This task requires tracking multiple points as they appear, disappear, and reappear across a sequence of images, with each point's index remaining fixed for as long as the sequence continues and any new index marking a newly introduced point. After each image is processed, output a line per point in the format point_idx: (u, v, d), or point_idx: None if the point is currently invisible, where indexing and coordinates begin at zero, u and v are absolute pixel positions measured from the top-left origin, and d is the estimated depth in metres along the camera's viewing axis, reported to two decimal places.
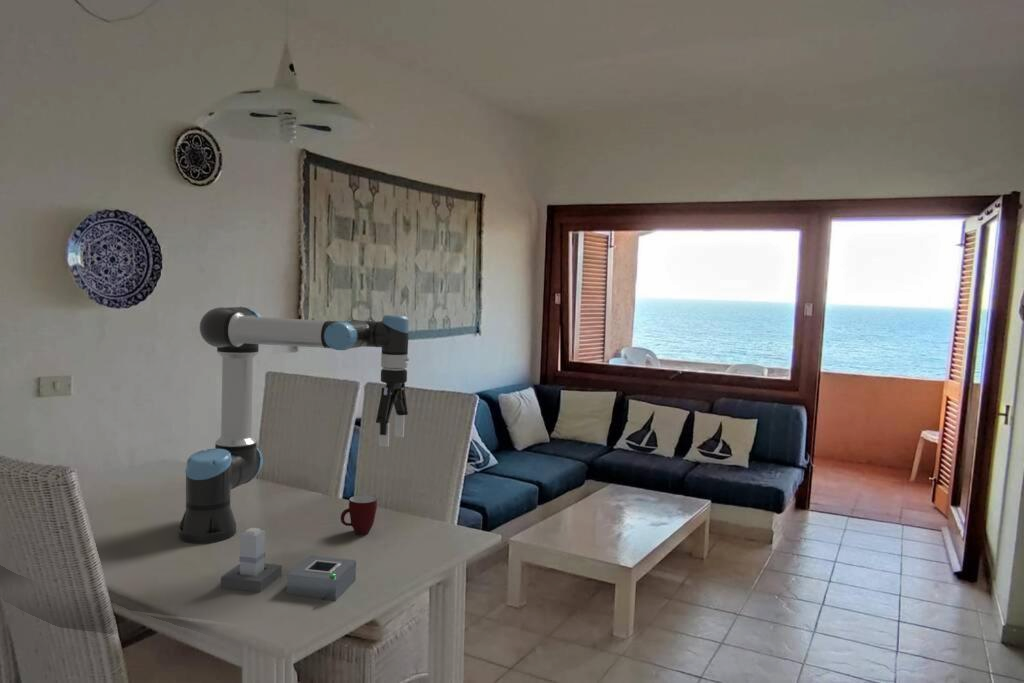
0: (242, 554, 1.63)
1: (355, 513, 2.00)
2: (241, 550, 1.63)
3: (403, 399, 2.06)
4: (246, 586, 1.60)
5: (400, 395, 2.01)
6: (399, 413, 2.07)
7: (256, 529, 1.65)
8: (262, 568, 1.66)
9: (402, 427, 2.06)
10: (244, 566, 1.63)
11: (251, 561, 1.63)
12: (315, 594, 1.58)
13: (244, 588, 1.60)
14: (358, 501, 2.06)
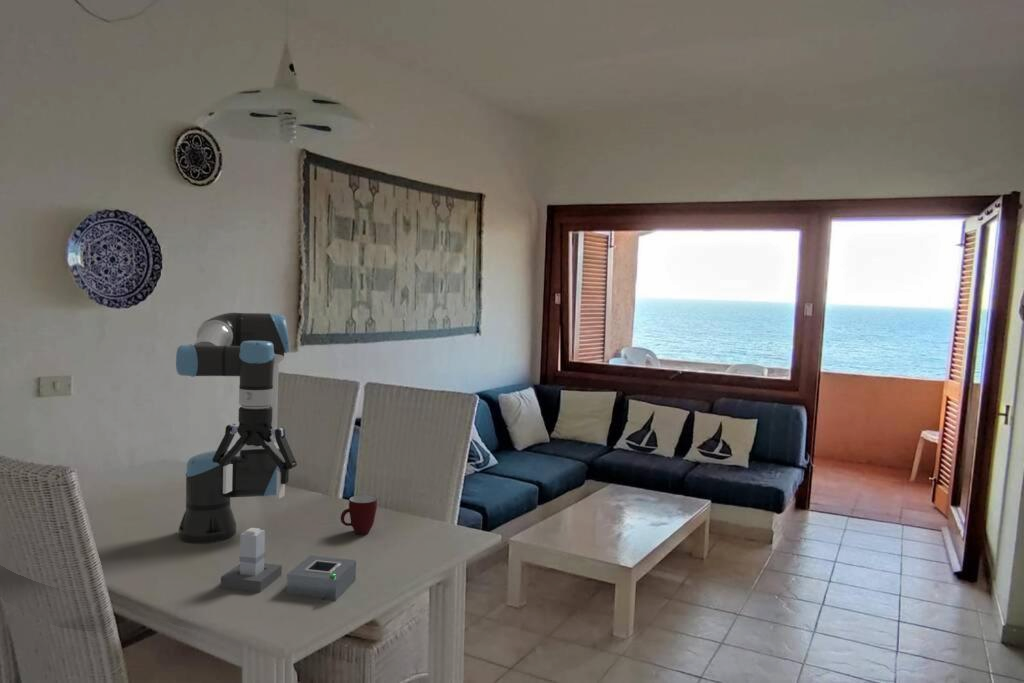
0: (242, 554, 1.63)
1: (355, 513, 2.00)
2: (241, 550, 1.63)
3: None
4: (246, 586, 1.60)
5: (258, 441, 1.61)
6: None
7: (256, 529, 1.65)
8: (262, 568, 1.66)
9: None
10: (244, 566, 1.63)
11: (251, 561, 1.63)
12: (315, 594, 1.58)
13: (244, 588, 1.60)
14: (358, 501, 2.06)
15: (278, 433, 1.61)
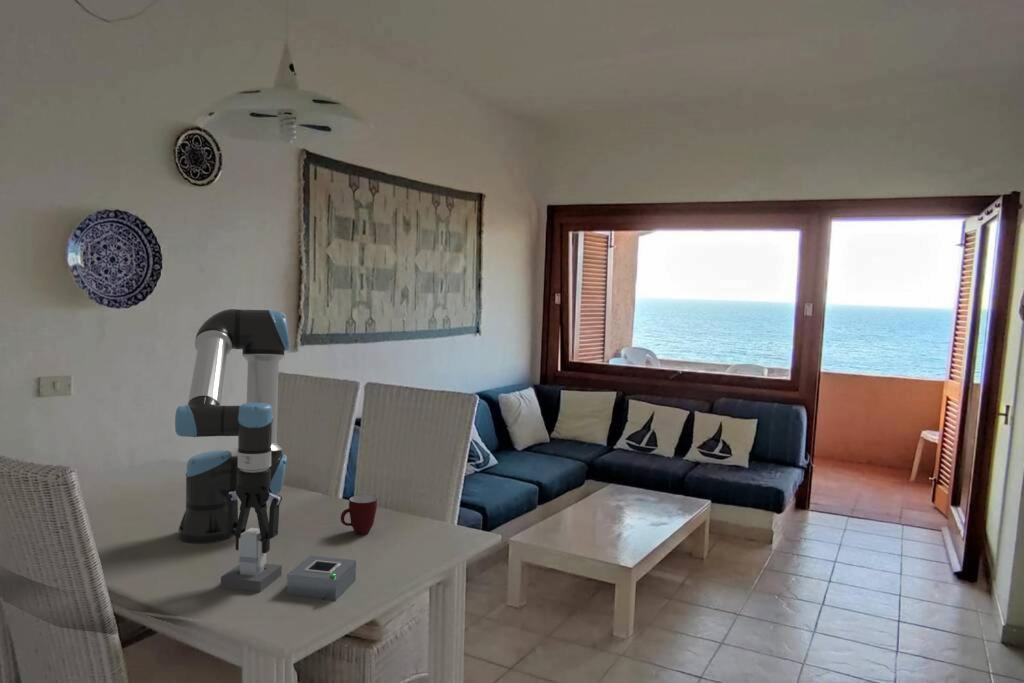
0: (242, 554, 1.63)
1: (355, 513, 2.00)
2: (241, 550, 1.63)
3: None
4: (246, 586, 1.60)
5: (254, 503, 1.62)
6: None
7: (256, 529, 1.65)
8: (262, 568, 1.66)
9: None
10: (244, 566, 1.63)
11: (251, 561, 1.63)
12: (315, 594, 1.58)
13: (244, 588, 1.60)
14: (358, 501, 2.06)
15: (275, 502, 1.62)
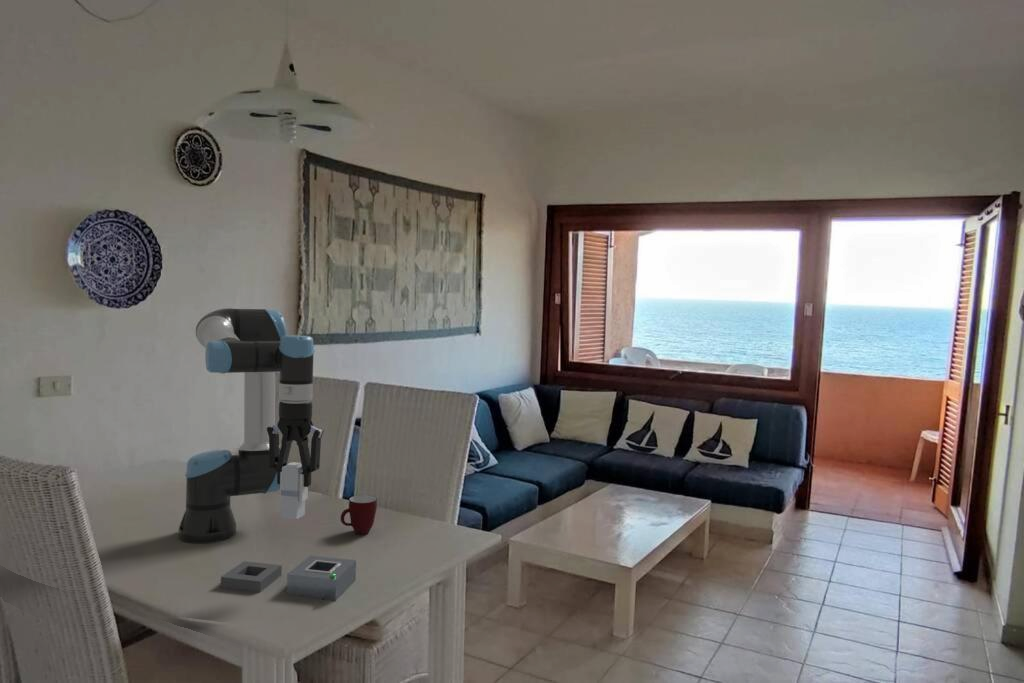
0: (283, 487, 1.61)
1: (355, 513, 2.00)
2: (282, 484, 1.61)
3: None
4: (246, 586, 1.60)
5: (295, 436, 1.60)
6: None
7: (297, 463, 1.63)
8: (303, 503, 1.64)
9: None
10: (286, 500, 1.61)
11: (292, 495, 1.61)
12: (315, 594, 1.58)
13: (244, 588, 1.60)
14: (358, 501, 2.06)
15: (316, 435, 1.60)
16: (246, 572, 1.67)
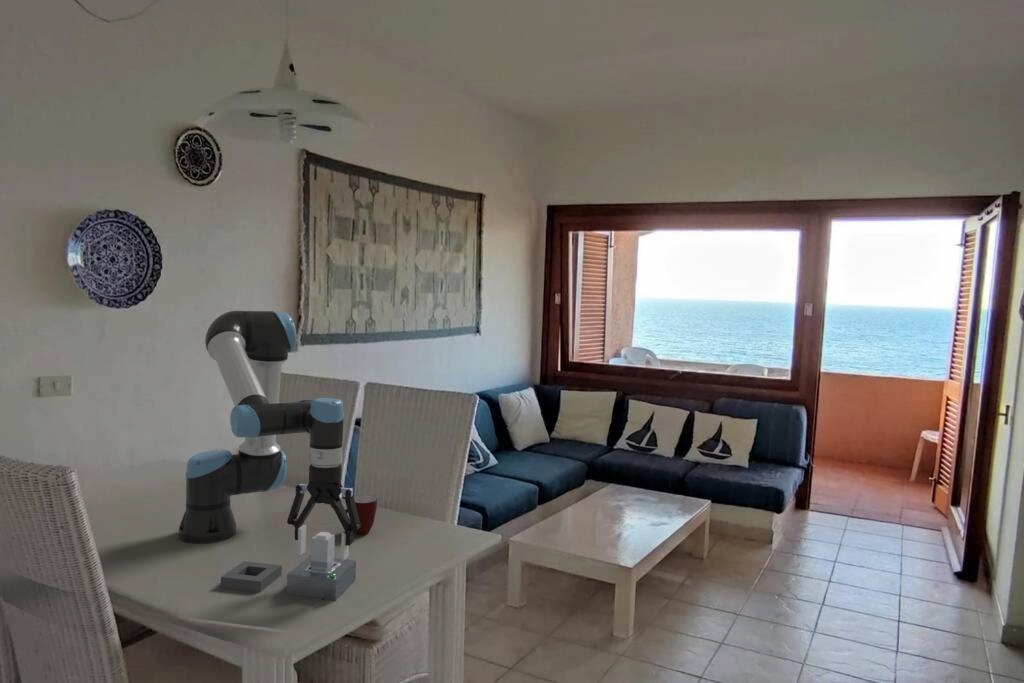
0: (313, 558, 1.62)
1: None
2: (312, 554, 1.62)
3: None
4: (246, 586, 1.60)
5: (327, 499, 1.61)
6: None
7: (326, 533, 1.64)
8: None
9: None
10: None
11: (322, 566, 1.62)
12: (315, 594, 1.58)
13: (244, 588, 1.60)
14: (358, 501, 2.06)
15: (348, 494, 1.61)
16: (246, 572, 1.67)
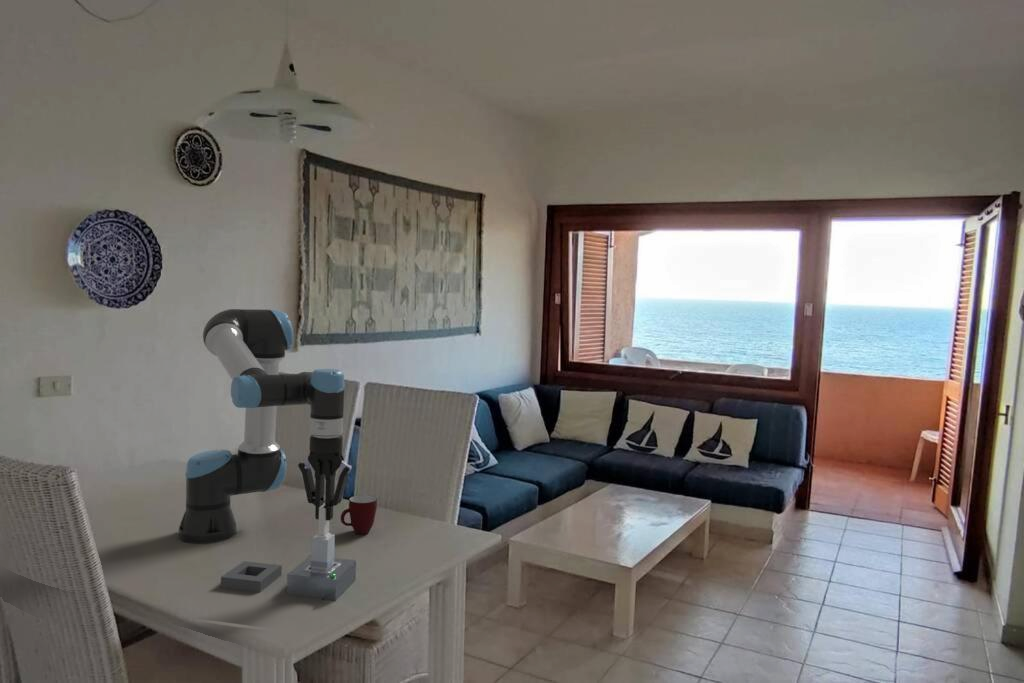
0: (313, 558, 1.62)
1: (355, 513, 2.00)
2: (312, 554, 1.62)
3: None
4: (246, 586, 1.60)
5: (325, 469, 1.61)
6: None
7: (326, 533, 1.64)
8: None
9: None
10: None
11: (322, 566, 1.62)
12: (315, 594, 1.58)
13: (244, 588, 1.60)
14: (358, 501, 2.06)
15: (346, 471, 1.61)
16: (246, 572, 1.67)
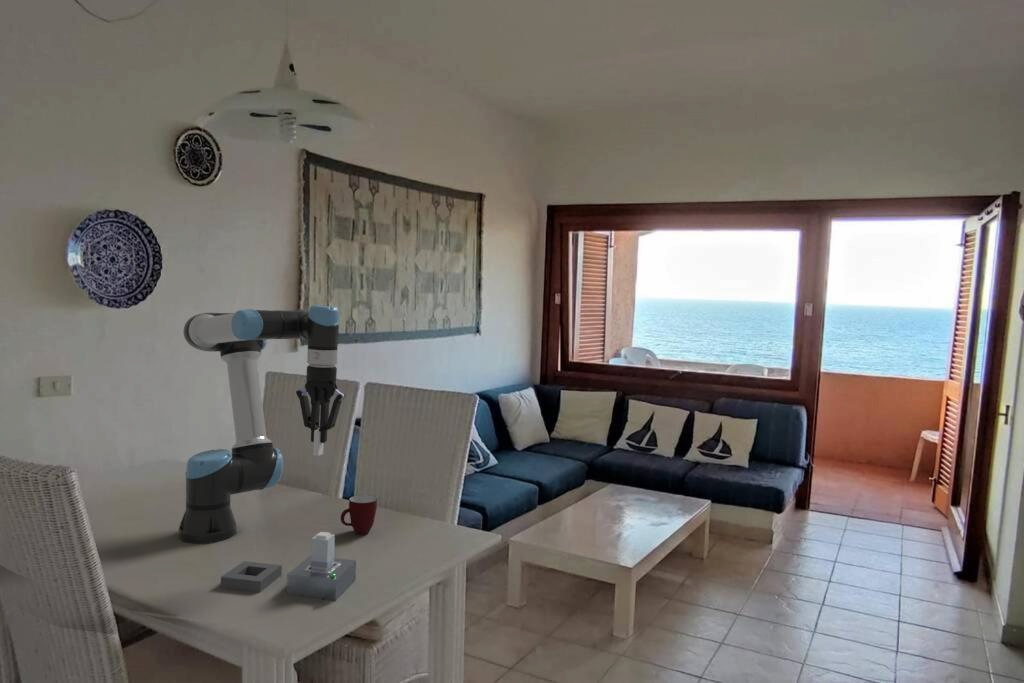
0: (313, 558, 1.62)
1: (355, 513, 2.00)
2: (312, 554, 1.62)
3: None
4: (246, 586, 1.60)
5: (320, 396, 1.77)
6: None
7: (326, 533, 1.64)
8: None
9: None
10: None
11: (322, 566, 1.62)
12: (315, 594, 1.58)
13: (244, 588, 1.60)
14: (358, 501, 2.06)
15: (339, 398, 1.77)
16: (246, 572, 1.67)
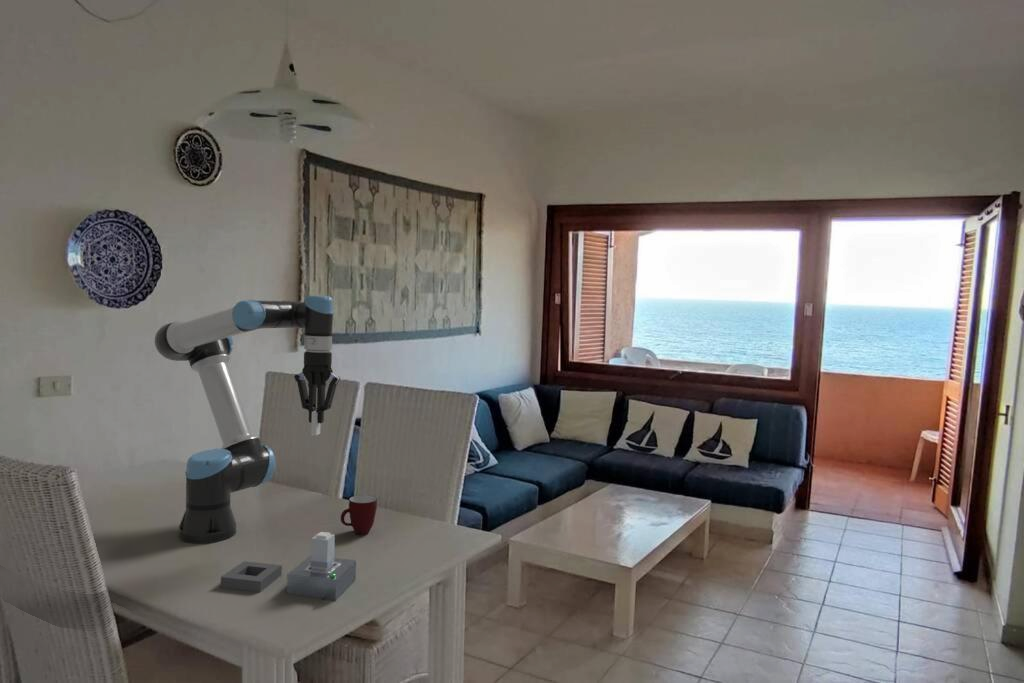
0: (313, 558, 1.62)
1: (355, 513, 2.00)
2: (312, 554, 1.62)
3: None
4: (246, 586, 1.60)
5: (317, 379, 1.91)
6: None
7: (326, 533, 1.64)
8: None
9: None
10: None
11: (322, 566, 1.62)
12: (315, 594, 1.58)
13: (244, 588, 1.60)
14: (358, 501, 2.06)
15: (334, 381, 1.91)
16: (246, 572, 1.67)
